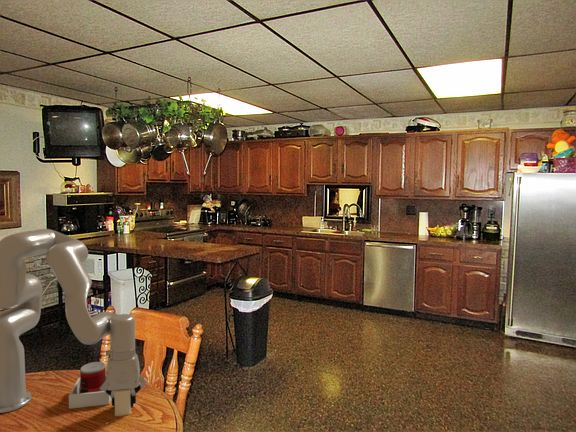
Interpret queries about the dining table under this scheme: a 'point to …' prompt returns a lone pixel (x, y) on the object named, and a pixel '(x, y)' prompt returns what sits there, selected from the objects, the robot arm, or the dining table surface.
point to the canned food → (92, 377)
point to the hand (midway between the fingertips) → (124, 405)
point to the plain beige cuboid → (122, 402)
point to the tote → (87, 397)
